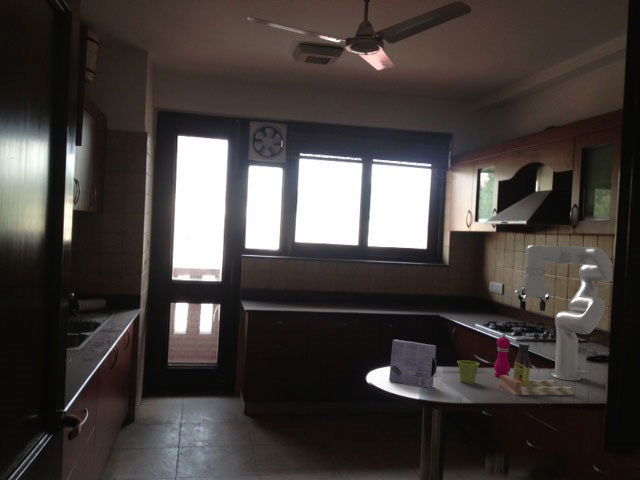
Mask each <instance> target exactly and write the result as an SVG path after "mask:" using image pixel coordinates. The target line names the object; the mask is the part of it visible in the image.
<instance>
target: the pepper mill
mask: <svg viewBox="0 0 640 480" xmlns="http://www.w3.org/2000/svg"><path fill="white" fill-rule="evenodd" d="M496 345H497V351H498V353H497V354H498V355H497V358H496V360H495V362H494V365H493V369H494V371H495V372H494V377H495V378H497V379H500V375H507V376H509V377H510V373H509V372H510V371H511V365H510V362H509V359H508V354H509V351H510V349H509V348H510V345H511V341H510V339H509V338H507V335H506V334H504V333H503V334H502V335H501V337H499V338H497V340H496Z"/></svg>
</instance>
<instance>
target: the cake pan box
mask: <svg viewBox="0 0 640 480" xmlns="http://www.w3.org/2000/svg"><path fill="white" fill-rule="evenodd" d="M391 346H392V347H391V356H390V368H389V378H388V380H389V382H392V383H398V384H404V385H407V386H415V387H421V388H426V389H431V388H433V387H432V386H434V378H435V375H436V372H437V369H438V368H437V367H438V362H437V359H436V354H437V353H436V352H437V345H434V344H426V343H421V342H420V343H419V342H416V341H415V342H414V341H406V340H400V339H393V340H392V344H391Z"/></svg>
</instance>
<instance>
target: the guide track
mask: <svg viewBox="0 0 640 480" xmlns="http://www.w3.org/2000/svg"><path fill="white" fill-rule="evenodd" d="M513 378H514V377H511V376H510V375H509V376H507V375H500V378H499V388H501V389H502V390H505V391H506V392H508V393H510V394H513V395H515V396H517V395H518V396H523V395H524V396H540V395H541V396H572V395H573V387H572V386H557V385H556V384H557V381H556V380H550V379H549V380H548V379H547V380H546V379H545V380H543V379H538V380H537V379H536V380H535V379H529V387H522V382H520V381H518V380H516V379H513Z"/></svg>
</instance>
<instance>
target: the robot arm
mask: <svg viewBox="0 0 640 480" xmlns="http://www.w3.org/2000/svg"><path fill="white" fill-rule="evenodd" d="M525 259H526V260H525V274H524V275H523V276H522V280H521V283H520V284H521V285H520V288H519V289H516V290H515V295H516V298H518V300H519V309H520V310H521V311H526V306H527V303H526V302H527V301H526V300H527V299H528V298H535V299H537V298H539V300H540V302H539V311H543V312H545V311H546V304H547V302H548V301H549V299H550V298H551V295H552V292H551V291H549V290H548V289H546V288H547V287H546V277H545V276H544V274H546V270H544V267H545V265H544V263H554V264H555V263H556V264H565V265H581V266H580V267H579V271H578V272H579V280H580V281H579V282H580V286H579V288H578V290H577V292H575V294H574V295H573V297H572V298H571V300H570V302H569V304H568V309H569V310H561V311H558V312H557V313H556V314H555V318H554V324H555V331H556V333H555V334H556V339H555V340H556V341H555V342H556V344H555V365H554V372H551V373H550V375H551V377H552V378H554V379H557V380H558V379H559V380H564V381H573V382H574V381H580V380H581V377H580V375H587V371H586V370H585V369H584V370H583V369H582V370H580V369H578V355H579V354H578V353H579V339H578V336H577V334H582V335H589V334H591V333H592V332H593V331H594V329H595V328H596V326H598V323H599V322H600V321H601V319H602V317H603V316H604V314H605V311H606V303H605V302H604V300H603V299H602V298H600V297H598V294H599V291H598V287H597V286H596V282H603V283H608V282H612V281H613V280H612V265H613V266H614V264H613V263H612V261H611V259H610V258H609V256H608V254H607V253H606V252H605V251H604V249H602V248H601V247H598V246H597V247H595V246H591V247H590V246H576V245H575V246H574V245H557V246H556V245H554V246H553V245H536V244H533V245H531V244H529V245H528V246H527V247H526V257H525ZM576 333H577V334H576Z"/></svg>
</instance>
